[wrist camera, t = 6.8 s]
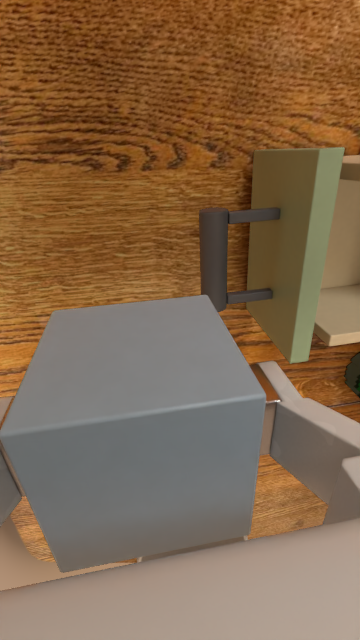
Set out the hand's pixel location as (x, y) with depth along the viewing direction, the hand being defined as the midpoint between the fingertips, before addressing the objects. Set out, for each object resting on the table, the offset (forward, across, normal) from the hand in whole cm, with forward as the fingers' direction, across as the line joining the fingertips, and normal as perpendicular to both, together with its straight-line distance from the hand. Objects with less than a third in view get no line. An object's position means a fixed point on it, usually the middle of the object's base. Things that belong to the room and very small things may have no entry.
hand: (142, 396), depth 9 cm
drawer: (+15, -13, 0) cm, 20 cm away
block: (+2, 0, 0) cm, 2 cm away
